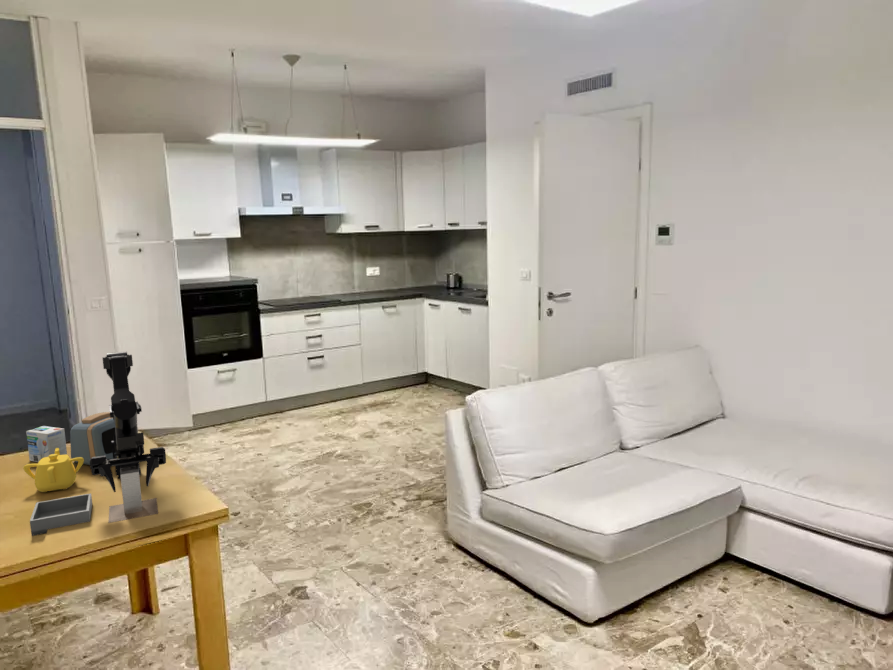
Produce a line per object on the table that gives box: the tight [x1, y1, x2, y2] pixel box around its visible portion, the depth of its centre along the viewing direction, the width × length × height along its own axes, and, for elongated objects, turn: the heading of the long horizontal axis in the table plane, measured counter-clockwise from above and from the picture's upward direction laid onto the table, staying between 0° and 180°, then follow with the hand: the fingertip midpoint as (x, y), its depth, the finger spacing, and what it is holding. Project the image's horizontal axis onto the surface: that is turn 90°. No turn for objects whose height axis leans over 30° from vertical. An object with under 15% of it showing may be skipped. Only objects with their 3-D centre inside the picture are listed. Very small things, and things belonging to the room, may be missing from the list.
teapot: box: [22, 448, 84, 493], centre depth 199 cm, size 14×13×10 cm
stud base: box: [108, 497, 159, 524], centre depth 179 cm, size 12×12×4 cm
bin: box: [29, 492, 93, 537], centre depth 175 cm, size 13×13×4 cm
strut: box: [120, 464, 143, 514], centre depth 178 cm, size 4×4×12 cm
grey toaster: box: [69, 411, 115, 466], centre depth 223 cm, size 16×16×16 cm
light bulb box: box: [25, 425, 68, 463], centre depth 224 cm, size 11×7×11 cm, turn 68°
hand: (131, 488), depth 176 cm, fingers open, 8 cm apart
